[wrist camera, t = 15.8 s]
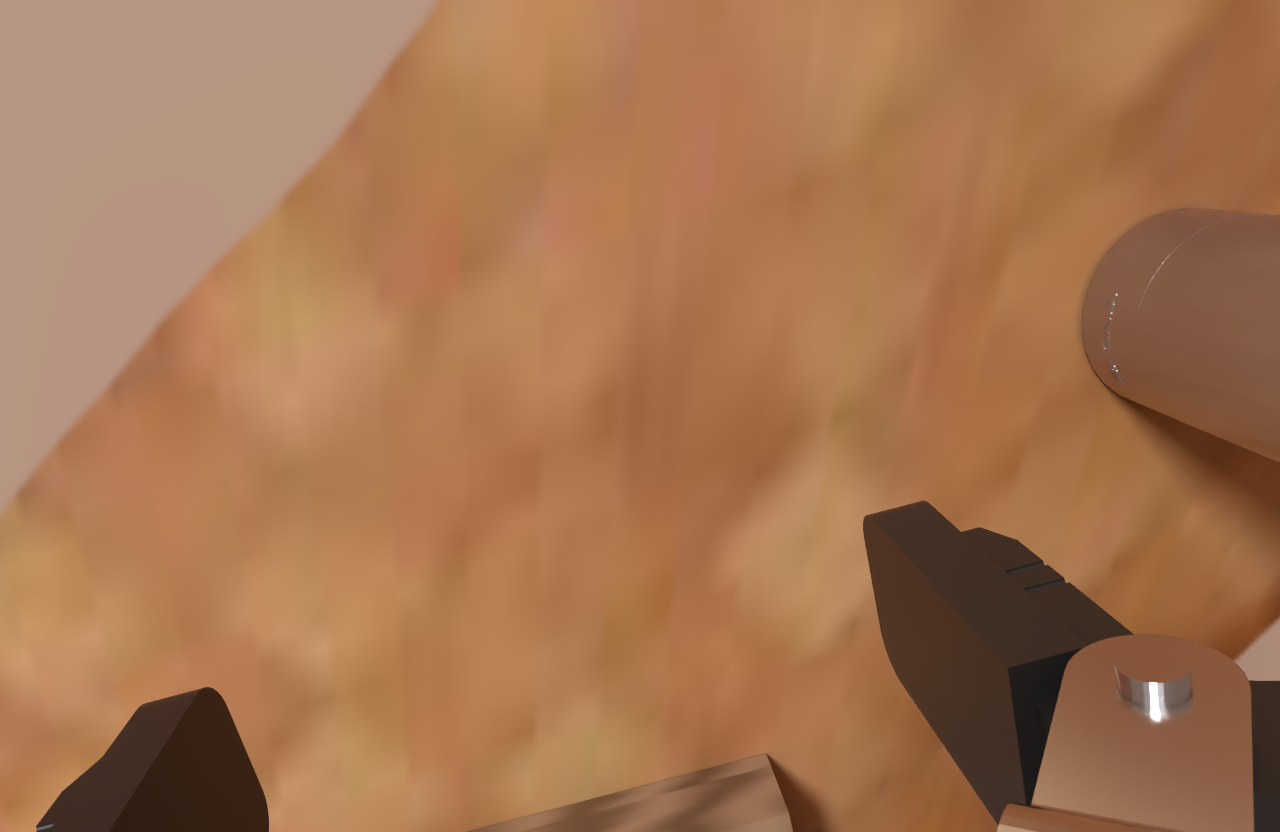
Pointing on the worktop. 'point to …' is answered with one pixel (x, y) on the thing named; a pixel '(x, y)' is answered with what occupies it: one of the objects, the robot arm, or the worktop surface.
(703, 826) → the slot rack
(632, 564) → the worktop surface
